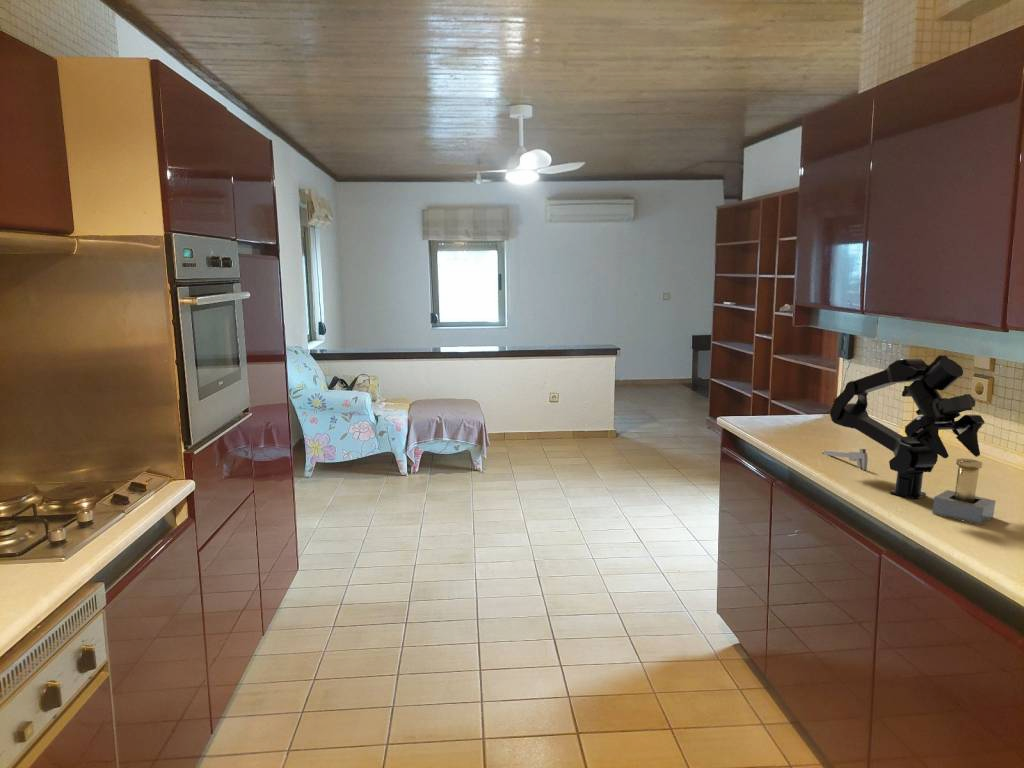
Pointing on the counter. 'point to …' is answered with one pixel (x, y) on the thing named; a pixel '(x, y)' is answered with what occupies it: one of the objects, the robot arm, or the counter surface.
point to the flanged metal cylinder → (967, 479)
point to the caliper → (852, 456)
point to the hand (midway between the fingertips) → (962, 456)
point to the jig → (963, 508)
